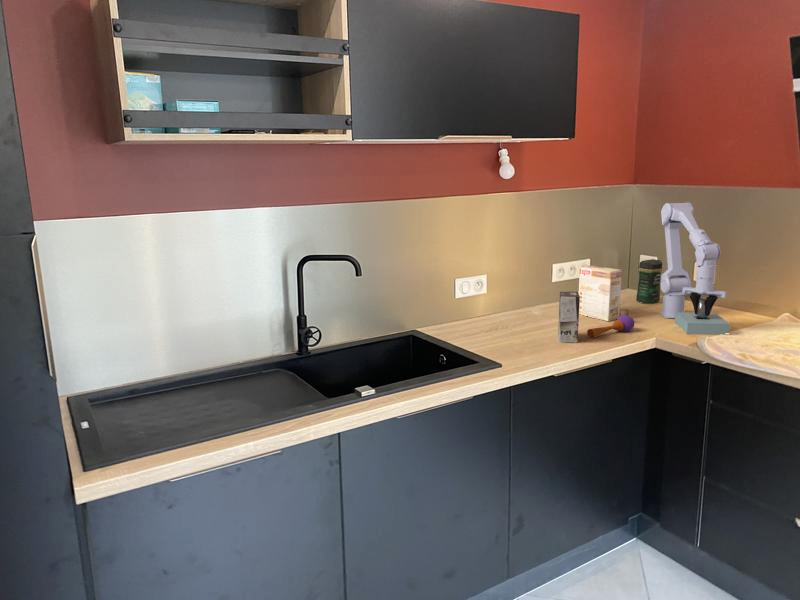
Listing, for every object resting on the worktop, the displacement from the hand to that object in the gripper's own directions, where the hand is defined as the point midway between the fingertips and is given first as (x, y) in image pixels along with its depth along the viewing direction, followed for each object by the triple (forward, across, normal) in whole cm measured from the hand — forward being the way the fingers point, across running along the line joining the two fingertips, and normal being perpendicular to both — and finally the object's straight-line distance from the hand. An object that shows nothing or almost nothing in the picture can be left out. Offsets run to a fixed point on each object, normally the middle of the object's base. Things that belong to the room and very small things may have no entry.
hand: (702, 314), depth 227 cm
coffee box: (+5, -30, -43) cm, 53 cm away
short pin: (+5, -25, -10) cm, 27 cm away
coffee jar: (+5, -32, +30) cm, 44 cm away
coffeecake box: (+6, -36, -7) cm, 38 cm away
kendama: (+6, -22, -27) cm, 35 cm away
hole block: (+5, 0, 0) cm, 5 cm away
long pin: (+3, 0, 0) cm, 3 cm away
